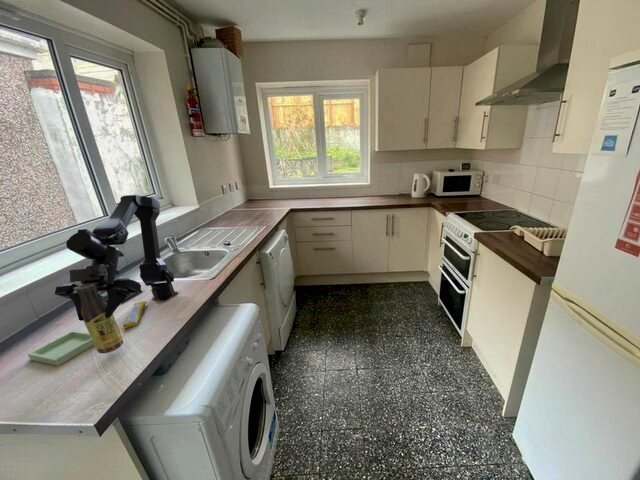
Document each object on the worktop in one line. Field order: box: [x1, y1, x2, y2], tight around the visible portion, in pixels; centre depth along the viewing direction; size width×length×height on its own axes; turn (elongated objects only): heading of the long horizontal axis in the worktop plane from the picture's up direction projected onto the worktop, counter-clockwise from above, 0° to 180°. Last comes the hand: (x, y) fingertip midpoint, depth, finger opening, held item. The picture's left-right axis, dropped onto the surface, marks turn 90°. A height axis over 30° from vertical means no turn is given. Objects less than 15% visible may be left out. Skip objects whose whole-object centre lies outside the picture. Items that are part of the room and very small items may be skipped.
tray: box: [27, 330, 94, 367], centre depth 85 cm, size 12×12×2 cm
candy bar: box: [122, 300, 148, 329], centre depth 101 cm, size 17×4×2 cm, turn 24°
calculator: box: [98, 289, 143, 304], centre depth 115 cm, size 9×12×3 cm
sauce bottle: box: [76, 283, 124, 354], centre depth 79 cm, size 7×6×20 cm
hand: (94, 319), depth 77 cm, fingers closed on sauce bottle, 6 cm apart
